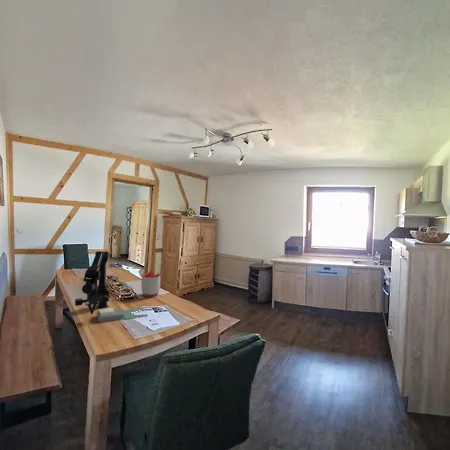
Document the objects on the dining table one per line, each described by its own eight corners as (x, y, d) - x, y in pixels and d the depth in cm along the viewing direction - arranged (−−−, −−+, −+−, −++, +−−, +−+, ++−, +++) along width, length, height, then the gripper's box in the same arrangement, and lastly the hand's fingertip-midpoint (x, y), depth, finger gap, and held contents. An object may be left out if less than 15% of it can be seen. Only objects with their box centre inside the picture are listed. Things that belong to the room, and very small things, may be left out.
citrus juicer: (163, 292, 236) (164, 269, 235) (156, 298, 219) (157, 273, 218) (145, 291, 238) (146, 268, 237) (137, 297, 220) (138, 272, 220)
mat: (120, 311, 188) (120, 310, 188) (141, 308, 195) (141, 307, 195) (125, 319, 174) (125, 318, 174) (147, 315, 182) (147, 315, 182)
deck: (96, 316, 178) (96, 311, 178) (119, 312, 185) (119, 308, 185) (99, 322, 168) (99, 317, 168) (123, 318, 175) (123, 314, 175)
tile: (99, 312, 176) (99, 309, 176) (112, 310, 181) (112, 307, 181) (100, 316, 170) (100, 312, 170) (114, 314, 175) (114, 311, 175)
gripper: (76, 294, 159) (75, 321, 159) (110, 290, 168) (110, 315, 169) (74, 289, 168) (74, 314, 169) (107, 286, 178) (107, 310, 178)
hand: (91, 313), depth 171 cm, fingers closed
